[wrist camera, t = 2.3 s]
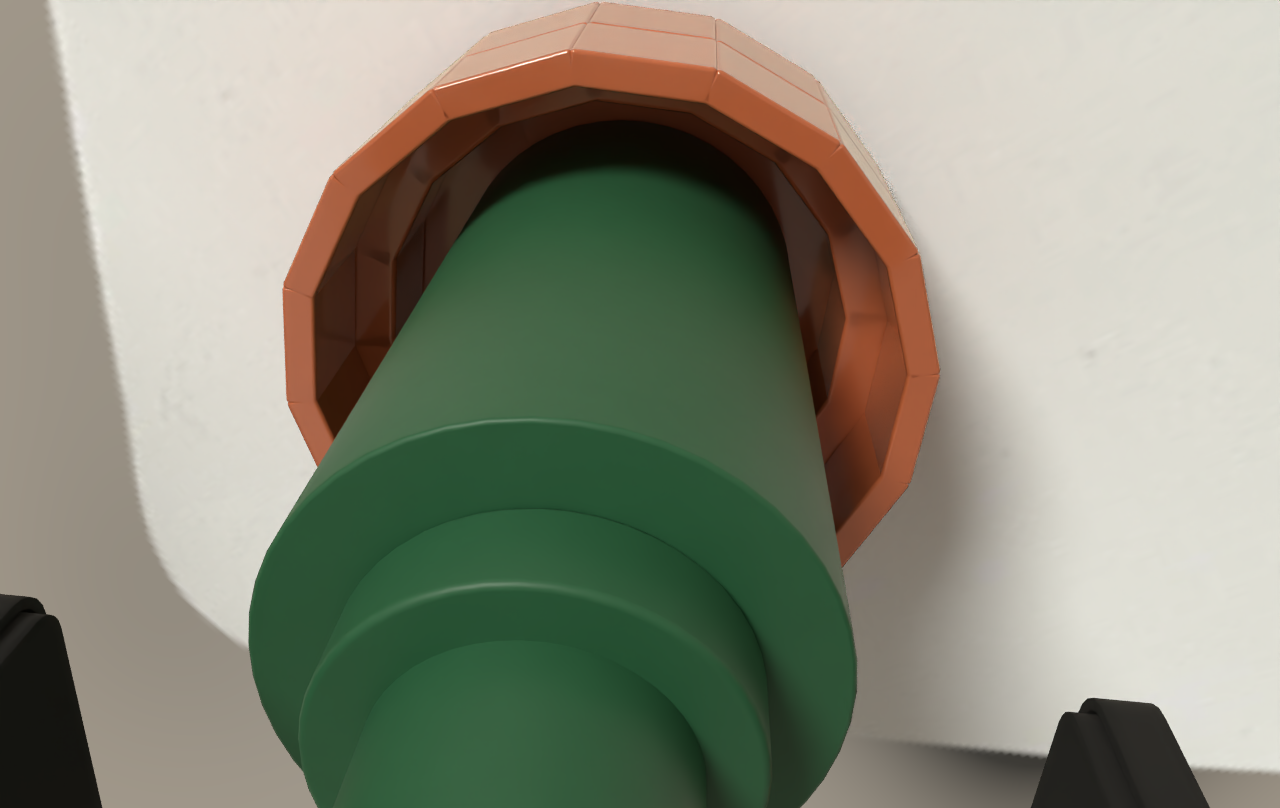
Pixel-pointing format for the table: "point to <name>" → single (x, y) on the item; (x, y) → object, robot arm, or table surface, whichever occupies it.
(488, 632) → the bottle
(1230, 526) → the table surface
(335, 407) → the bowl
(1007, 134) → the table surface
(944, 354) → the table surface
